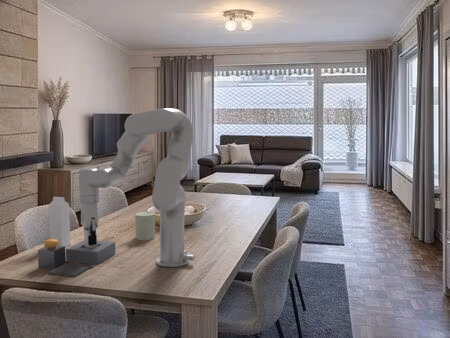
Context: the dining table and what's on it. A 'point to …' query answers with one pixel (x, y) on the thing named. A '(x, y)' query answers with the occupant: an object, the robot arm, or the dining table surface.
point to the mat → (70, 270)
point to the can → (145, 225)
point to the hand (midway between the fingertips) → (90, 242)
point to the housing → (90, 252)
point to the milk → (59, 221)
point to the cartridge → (86, 233)
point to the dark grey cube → (51, 257)
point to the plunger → (51, 243)
